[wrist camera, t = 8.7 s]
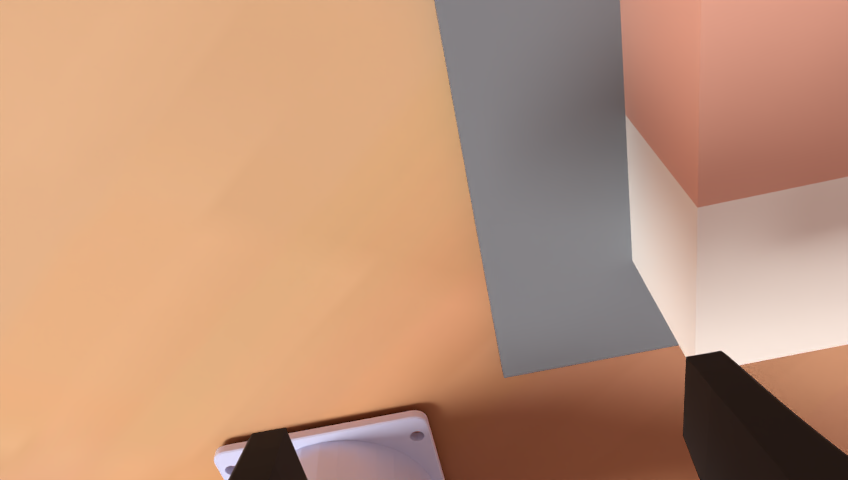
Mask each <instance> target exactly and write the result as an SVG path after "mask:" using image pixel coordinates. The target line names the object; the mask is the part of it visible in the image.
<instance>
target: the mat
mask: <svg viewBox="0 0 848 480" xmlns="http://www.w3.org/2000/svg"><path fill="white" fill-rule="evenodd" d="M434 1H435V7H436V12H437V18H438V23H439V29H440V34H441V39H442V45H443V50H444V56H445V61H446V67H447V72H448V78H449V83H450V88H451V94H452V99H453V105H454V110H455V116H456V121H457V127H458V132H459V137H460V143H461V148H462V154H463V159H464V165H465V170H466V176H467V181H468V186H469V192H470V197H471V203H472V208H473V214H474V219H475V224H476V230H477V235H478V241H479V246H480V252H481V257H482V263H483V268H484V273H485V279H486V284H487V290H488V295H489V301H490V306H491V312H492V317H493V322H494V328H495V333H496V339H497V344H498V350H499V355H500V360H501V366H502V371H503V375H504V378H507V377H512V376H517V375H523V374H528V373H533V372H539V371H544V370H549V369H555V368H560V367H565V366H570V365H576V364H581V363H586V362H592V361H597V360H602V359H608V358H613V357H618V356H624V355H629V354H634V353H640V352H645V351H650V350H656V349H661V348H666V347H672V346H677V345H679V344H678V342H677V340H676V339H675V337H674V335H673V333H672V331H671V330H670V328H669V326H668V324H667V322H666V320H665V319H664V317H663V315H662V313H661V311H660V310H659V308H658V306H657V304H656V302H655V301H654V299H653V297H652V295H651V293H650V291H649V290H648V288H647V286H646V284H645V282H644V281H643V279H642V277H641V275H640V273H639V272H638V270H637V268H636V266H635V264H634V262H633V261H632V242H631V221H630V201H629V180H628V159H627V138H626V117H625V96H624V75H623V54H622V34H621V13H620V0H434Z"/></svg>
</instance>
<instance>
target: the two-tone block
mask: <svg viewBox="0 0 848 480" xmlns="http://www.w3.org/2000/svg"><path fill="white" fill-rule="evenodd" d="M620 13H621V34H622V54H623V75H624V96H625V117H626V138H627V159H628V180H629V201H630V221H631V242H632V261H633V262H634V264H635V266H636V268H637V270H638V272H639V273H640V275H641V277H642V279H643V281H644V282H645V284H646V286H647V288H648V290H649V291H650V293H651V295H652V297H653V299H654V301H655V302H656V304H657V306H658V308H659V310H660V311H661V313H662V315H663V317H664V319H665V320H666V322H667V324H668V326H669V328H670V330H671V331H672V333H673V335H674V337H675V339H676V340H677V342H678V344H679V346H680V348H681V349H682V351H683V353H684V355H685V357H688V356H693V355H699V354H705V353H710V352H716V351H722V352H724V353H725V354H727V355H728V356H729V357H730V358H731V359H732V360H734V361H735V362H736V363H737V364H738V365H743V364H748V363H753V362H758V361H764V360H769V359H774V358H779V357H784V356H790V355H795V354H800V353H805V352H810V351H815V350H821V349H826V348H831V347H836V346H841V345H847V344H848V0H620Z"/></svg>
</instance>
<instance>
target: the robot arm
mask: <svg viewBox="0 0 848 480" xmlns="http://www.w3.org/2000/svg"><path fill="white" fill-rule="evenodd" d="M415 431H420V432H418V433H414V432H415ZM683 437H684V439H685V442H686V444H687V447H688V450H689V452H690V455H691V458H692V460H693V463H694V466H695V468H696V471H697V473H698V476H699V478H700V480H848V455H846V454H845V453H844V452H842V451H841V450H840V449H838V448H837V447H836V446H835V445H833V444H832V443H831V442H830V441H828V440H827V439H826V438H825V437H823V436H822V435H821V434H820V433H818V432H817V431H816V430H814V429H813V428H812V427H811V426H809V425H808V424H807V423H806V422H804V421H803V420H802V419H801V418H800V417H798V416H797V415H796V414H795V413H793V412H792V411H791V410H790V409H789V408H787V407H786V406H785V405H784V404H783V403H782V402H780V401H779V400H778V399H777V398H776V397H775V396H773V395H772V394H771V393H770V392H769V391H768V390H766V389H765V388H764V387H763V386H762V385H761V384H760V383H758V382H757V381H756V380H755V379H754V378H753V377H752V376H750V375H749V374H748V373H747V372H746V371H745V370H744V369H742V368H741V367H740V366H739V365H738V364H737V363H736V362H735V361H734V360H732V359H731V358H730V357H729V356H728V355H727V354H725V353H724V352H722V351H716V352H710V353H705V354H699V355H693V356H688V357H686V373H685V398H684V422H683ZM214 462H215V465H216V466H217V468H218V470H219V472H220V473H221V475H222V477H223V479H224V480H445V478H444V475H443V471H442V467H441V464H440V460H439V457H438V453H437V450H436V446H435V443H434V439H433V436H432V432H431V428H430V425H429V421H428V418H427V416H426V414H425V413H423V412H422V411H418V410H411V411H405V412H400V413H395V414H389V415H384V416H379V417H373V418H368V419H362V420H357V421H352V422H346V423H341V424H336V425H330V426H325V427H320V428H314V429H309V430H304V431H298V432H293V433H288V432H287V430H286V428H281V429H275V430H270V431H264V432H258V433H253V434H252V435H251V437H250V438H249V439H248V441H245V442H239V443H234V444H229V445H224V446H221V447H219V448H218V449H217V450H216V453H215V457H214Z"/></svg>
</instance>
